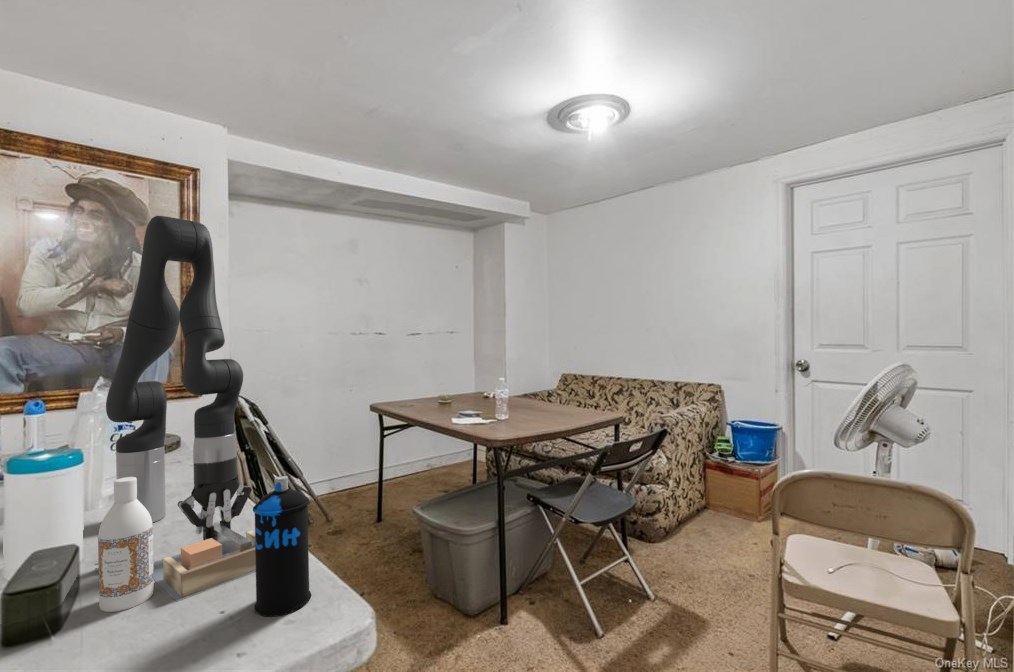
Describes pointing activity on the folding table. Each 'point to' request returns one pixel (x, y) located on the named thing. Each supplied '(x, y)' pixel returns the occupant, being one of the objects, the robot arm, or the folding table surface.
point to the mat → (159, 579)
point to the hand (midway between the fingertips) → (217, 541)
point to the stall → (209, 571)
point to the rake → (227, 543)
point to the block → (200, 552)
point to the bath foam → (125, 551)
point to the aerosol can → (281, 551)
